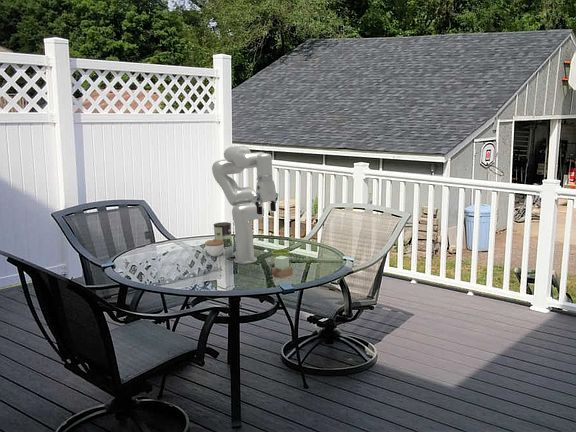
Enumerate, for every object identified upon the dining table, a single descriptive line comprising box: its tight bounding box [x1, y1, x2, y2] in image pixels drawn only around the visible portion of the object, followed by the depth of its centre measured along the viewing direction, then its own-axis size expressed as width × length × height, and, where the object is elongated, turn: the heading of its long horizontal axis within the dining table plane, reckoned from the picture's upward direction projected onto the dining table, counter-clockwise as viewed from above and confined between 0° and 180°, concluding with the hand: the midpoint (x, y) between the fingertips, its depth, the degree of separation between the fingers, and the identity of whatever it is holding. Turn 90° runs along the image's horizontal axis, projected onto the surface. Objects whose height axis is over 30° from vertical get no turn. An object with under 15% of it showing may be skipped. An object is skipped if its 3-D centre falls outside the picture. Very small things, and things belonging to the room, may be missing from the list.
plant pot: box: [271, 248, 291, 259], centre depth 312 cm, size 9×9×9 cm
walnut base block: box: [271, 265, 293, 279], centre depth 294 cm, size 7×7×4 cm
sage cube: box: [273, 256, 290, 269], centre depth 293 cm, size 5×5×5 cm
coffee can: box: [213, 221, 233, 249], centre depth 361 cm, size 10×10×14 cm
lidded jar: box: [204, 238, 224, 257], centre depth 343 cm, size 11×11×9 cm
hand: (266, 212), depth 302 cm, fingers open, 9 cm apart
